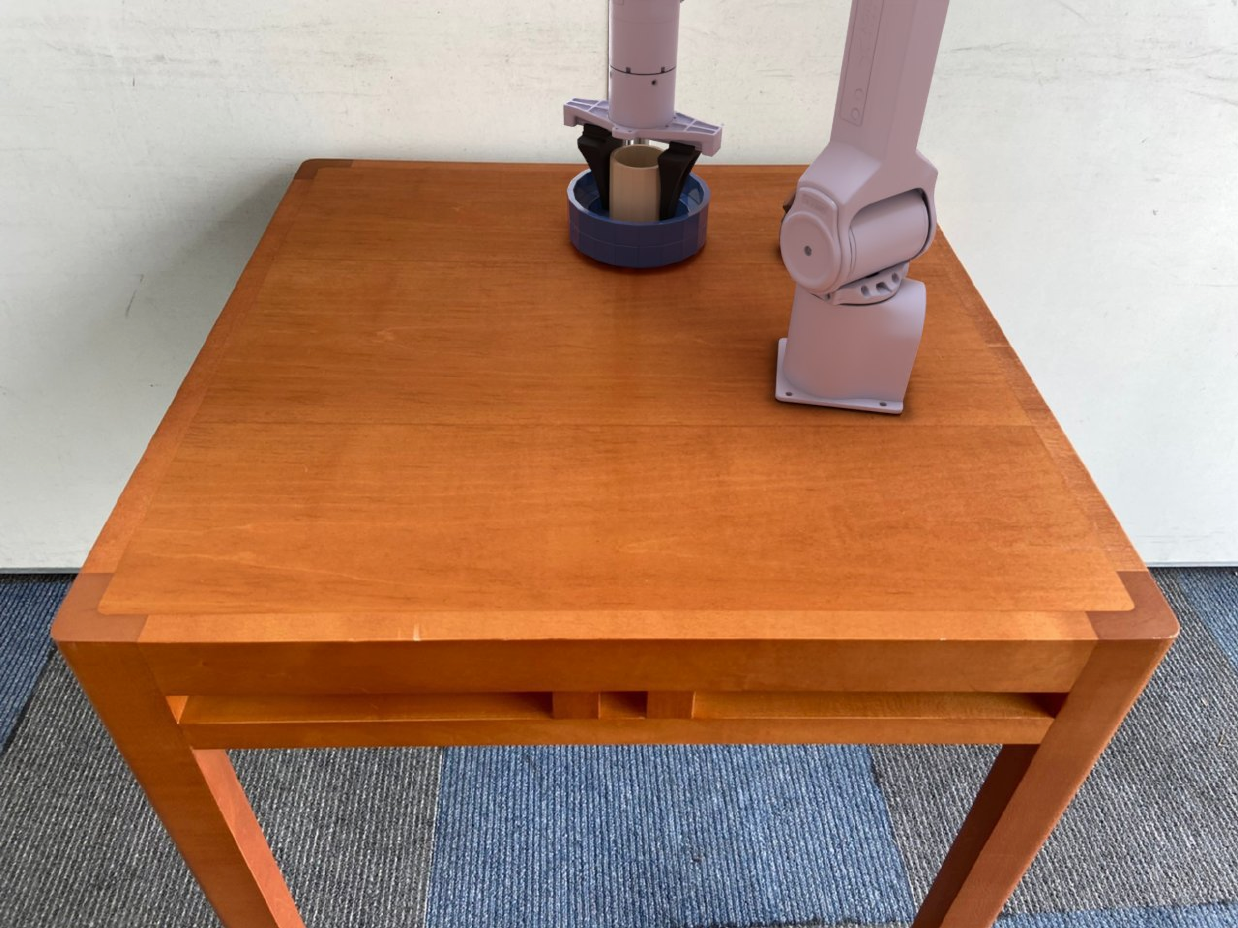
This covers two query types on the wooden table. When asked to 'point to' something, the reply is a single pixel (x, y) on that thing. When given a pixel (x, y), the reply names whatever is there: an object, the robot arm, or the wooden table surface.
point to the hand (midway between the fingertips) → (638, 212)
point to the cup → (635, 183)
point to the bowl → (637, 227)
